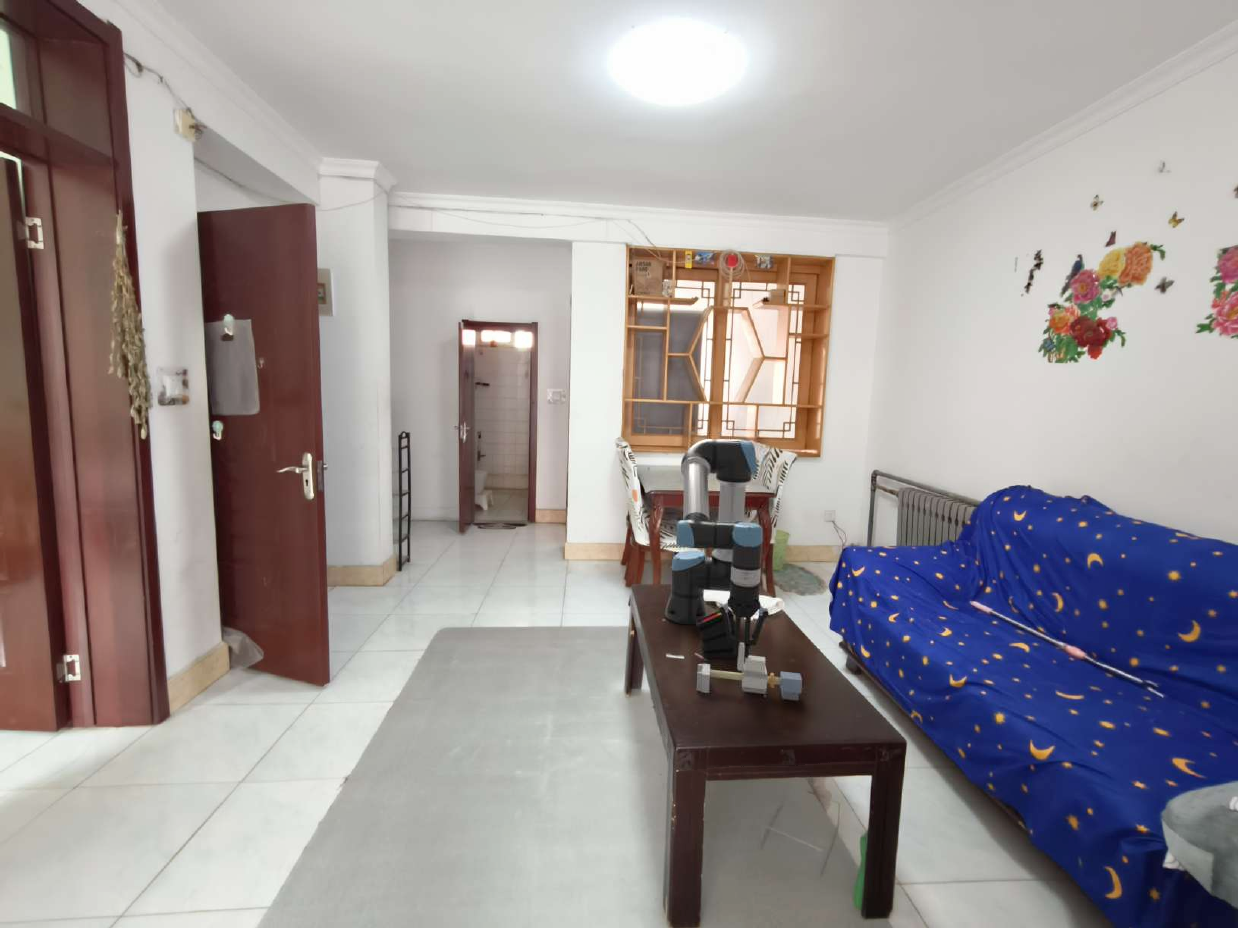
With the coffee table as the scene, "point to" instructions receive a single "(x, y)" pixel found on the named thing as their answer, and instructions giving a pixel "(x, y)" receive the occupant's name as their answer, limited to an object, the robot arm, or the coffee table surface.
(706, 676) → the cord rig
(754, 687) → the white stepped block
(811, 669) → the coffee table surface
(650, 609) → the coffee table surface
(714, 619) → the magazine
